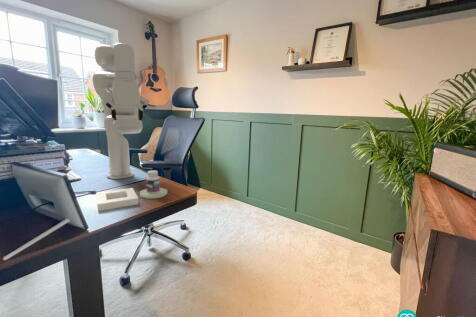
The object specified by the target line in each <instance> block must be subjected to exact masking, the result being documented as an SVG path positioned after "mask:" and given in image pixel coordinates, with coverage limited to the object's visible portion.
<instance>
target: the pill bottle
mask: <svg viewBox="0 0 476 317" xmlns="http://www.w3.org/2000/svg"><path fill="white" fill-rule="evenodd" d="M145 184H146V185H145V187H146V188H145V189H147V193H150V194H154V193H158V192H159V191H160V188H161V187H160V185H161V184H160V176H159V172H158V170H157V169H156V170H154V169H153V170H148V171H147V176H146V178H145Z"/></svg>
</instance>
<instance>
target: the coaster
mask: <svg viewBox="0 0 476 317" xmlns="http://www.w3.org/2000/svg"><path fill="white" fill-rule="evenodd" d="M167 195H168V189H167V188H164V187H160V191H159V192H158V193H154V194H150V193H147V189H146V188H144V189H142V190H140V191H139V197H140V198H142V199H148V200H155V199H161V198H163V197H166V196H167Z"/></svg>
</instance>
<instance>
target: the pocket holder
mask: <svg viewBox="0 0 476 317" xmlns="http://www.w3.org/2000/svg"><path fill="white" fill-rule="evenodd" d="M96 205H97V211H98V212H100V211H101V212H103V211H108V210H113V209H118V208H124V207H129V206H136V205H139V197H138V195H137V194H136V192H135V190H134V188H133V187H129V188H120V189H113V190H106V191H99V192H96Z"/></svg>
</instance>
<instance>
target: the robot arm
mask: <svg viewBox="0 0 476 317" xmlns="http://www.w3.org/2000/svg"><path fill="white" fill-rule="evenodd" d="M94 50H95V51H94V58H95V59H94V60H95V62H96V64H97V65H98V66H99V67H101V69H103V71H98V72H95V73H94V74H93V76H92V85H93V88H94V91H95V93H96V94H97V96H98V97H99V98H100V100H101V104H102V109H103V112H104V114H105V116H106V117H105V118H104V120H103V124H104V129H105V134H106V141H107V151H108V152H107V153H108V164H109V172H108V173H107V174H106V178H108V179H110V180H111V179H112V180H122V179H127V178H131V177H133V176H134V172H133V171H132V170H131V165H130V163H131V162H130V147H129V146H130V144H129V141H128V139H127V138H125V136H124V135H127V134H128V135H131V134H132V135H133V134H140V133H141V132H142V130H143V128H144V127H143V120H142V119H143V118H144V114H143V113H144V112H143V111H145V109H147V107H148V106H149V102H150V100H148V99H146V98H144V97H143V96H141V94H140V88H139V83H138V81H137V80H140V76H139V75H137V74H136V58H135V48H134V47H133V45H130V44H127V43H122V42H117V43H115V44H113V45H107V44H99V45H97V46H96V47H95V49H94ZM141 102H144V104H143V105H142V106H141Z"/></svg>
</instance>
